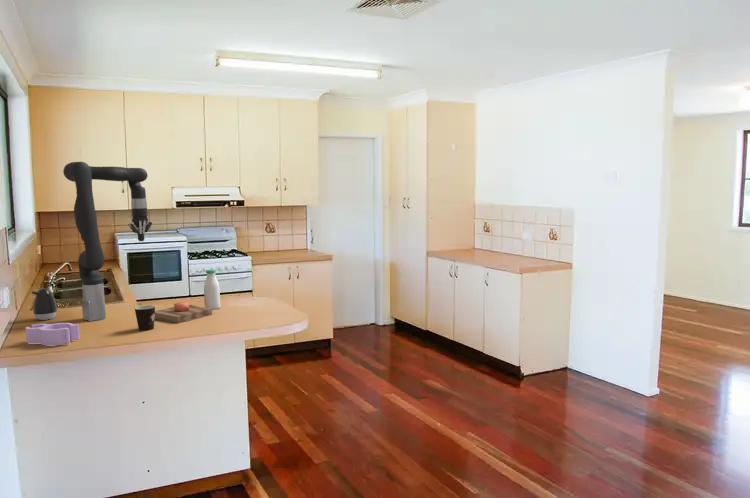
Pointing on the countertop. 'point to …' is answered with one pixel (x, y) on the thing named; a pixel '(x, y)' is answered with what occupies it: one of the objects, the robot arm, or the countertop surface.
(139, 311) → the coffee mug
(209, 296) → the milk bottle
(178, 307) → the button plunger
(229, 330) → the countertop surface
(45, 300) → the pump dispenser
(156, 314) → the wooden cutting board
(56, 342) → the purple low wavy piece
